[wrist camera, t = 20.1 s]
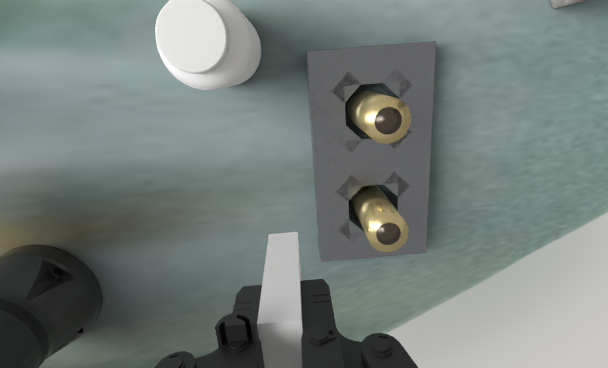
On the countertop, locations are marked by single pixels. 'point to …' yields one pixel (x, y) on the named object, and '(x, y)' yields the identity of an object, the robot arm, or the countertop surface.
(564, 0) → the coffee box
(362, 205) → the fitted bushing
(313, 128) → the jig plate
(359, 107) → the bushing
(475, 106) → the countertop surface
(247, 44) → the pill bottle
